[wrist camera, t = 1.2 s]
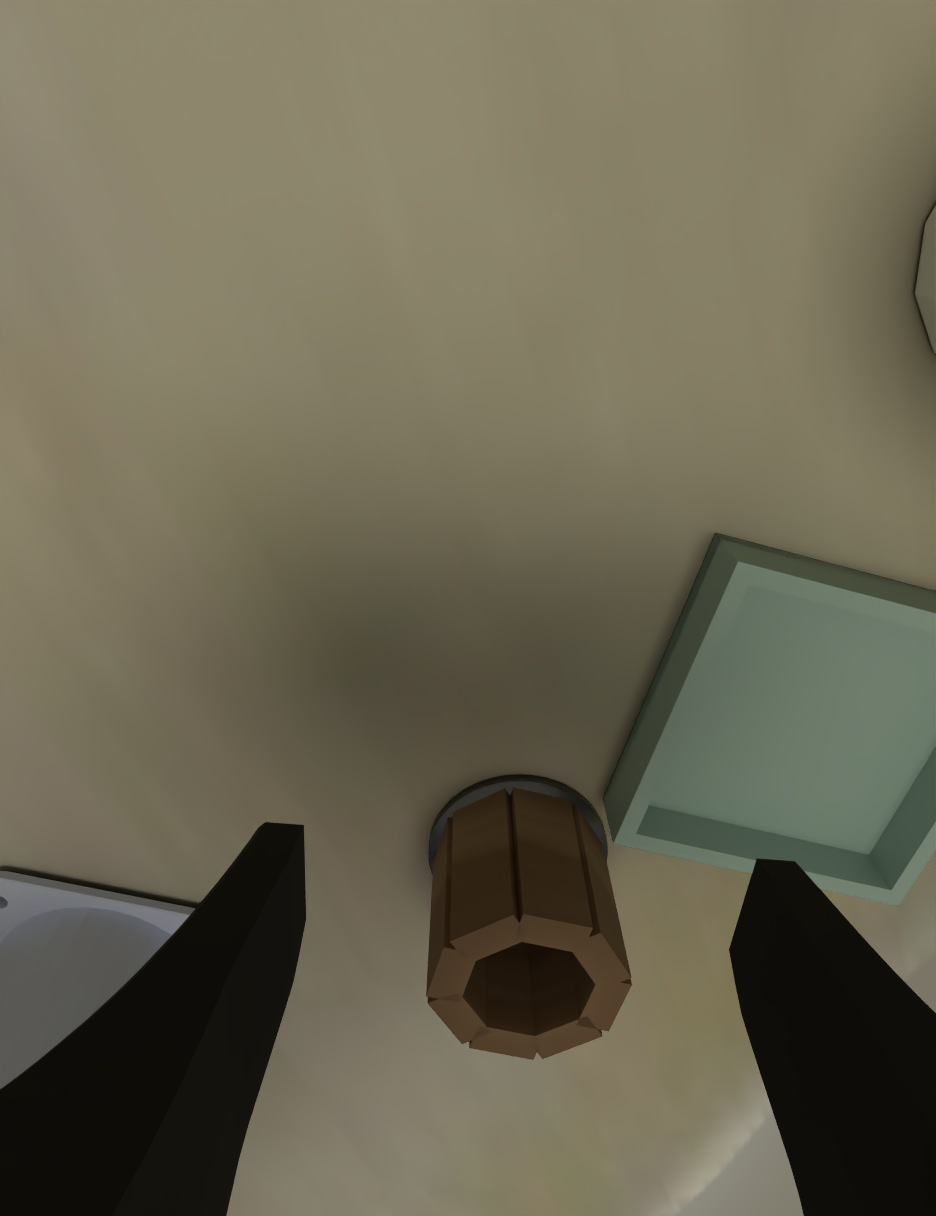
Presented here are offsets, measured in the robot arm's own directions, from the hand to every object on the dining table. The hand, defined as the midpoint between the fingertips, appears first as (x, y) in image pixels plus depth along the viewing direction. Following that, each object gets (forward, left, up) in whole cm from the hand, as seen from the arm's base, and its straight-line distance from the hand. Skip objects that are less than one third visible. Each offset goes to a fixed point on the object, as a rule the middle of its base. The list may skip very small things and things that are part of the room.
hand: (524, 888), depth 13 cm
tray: (-1, -9, -11) cm, 14 cm away
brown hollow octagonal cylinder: (-8, -3, -10) cm, 13 cm away
